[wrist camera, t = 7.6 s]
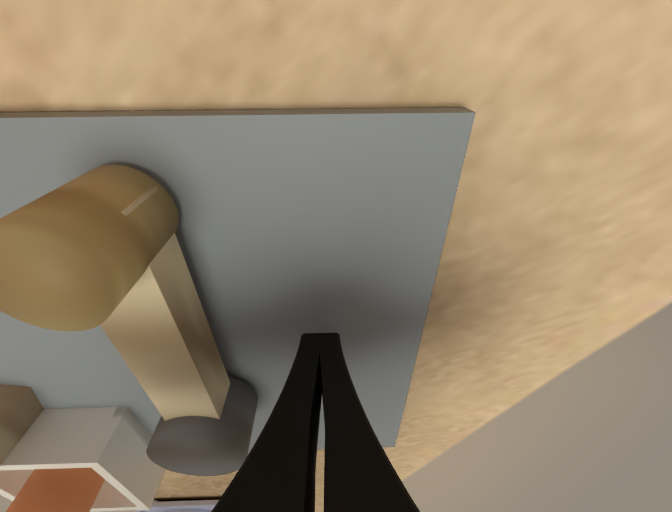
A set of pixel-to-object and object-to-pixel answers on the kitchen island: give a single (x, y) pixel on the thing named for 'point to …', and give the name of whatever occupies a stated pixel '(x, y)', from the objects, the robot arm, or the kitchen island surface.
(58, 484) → the pin
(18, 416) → the stop post
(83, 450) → the dish
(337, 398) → the robot arm
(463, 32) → the kitchen island surface
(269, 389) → the board
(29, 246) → the crank
